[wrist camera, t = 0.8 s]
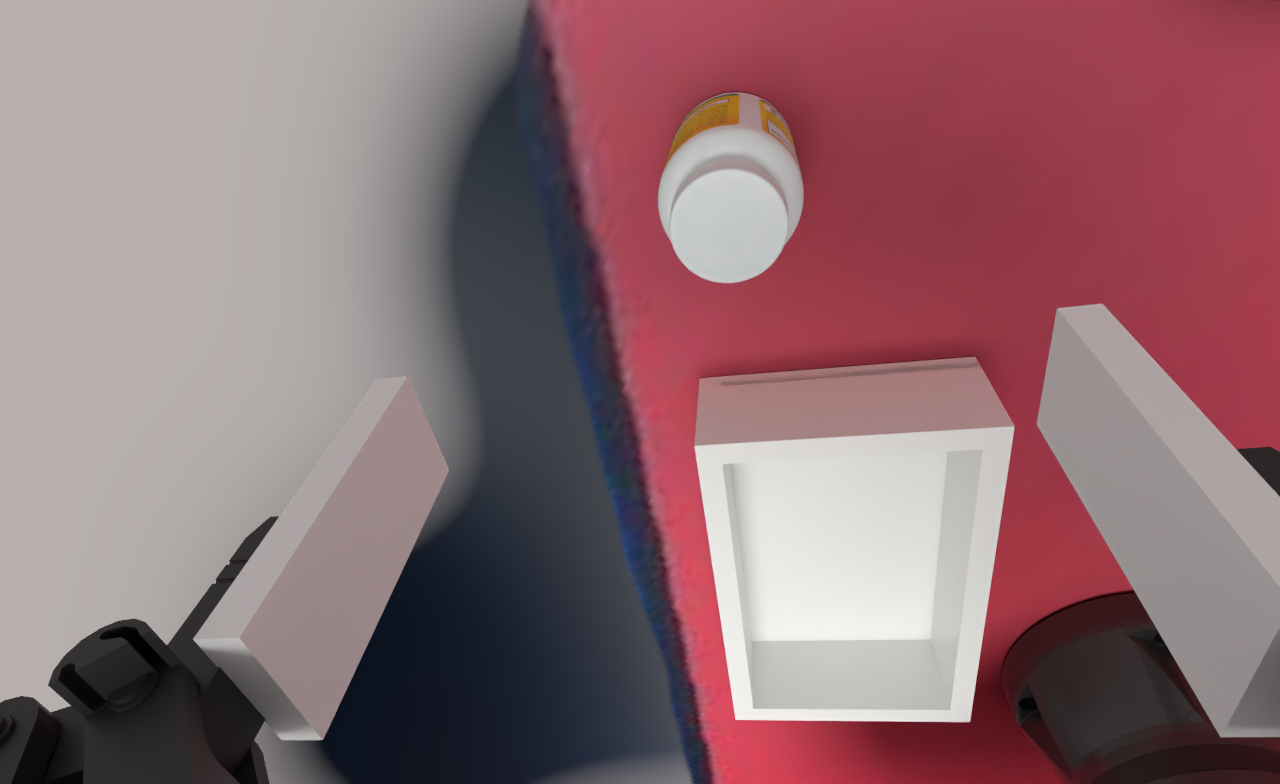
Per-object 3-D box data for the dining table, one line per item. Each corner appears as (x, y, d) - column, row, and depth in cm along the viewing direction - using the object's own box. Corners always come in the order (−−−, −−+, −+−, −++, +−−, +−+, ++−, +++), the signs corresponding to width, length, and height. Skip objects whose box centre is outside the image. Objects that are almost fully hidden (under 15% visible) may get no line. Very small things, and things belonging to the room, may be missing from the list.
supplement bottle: (810, 108, 30) (837, 172, 22) (769, 224, 33) (781, 318, 25) (688, 75, 30) (671, 128, 22) (658, 195, 33) (634, 281, 25)
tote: (699, 378, 38) (694, 445, 33) (975, 356, 35) (1014, 426, 30) (735, 640, 50) (735, 719, 45) (945, 638, 47) (969, 722, 42)
